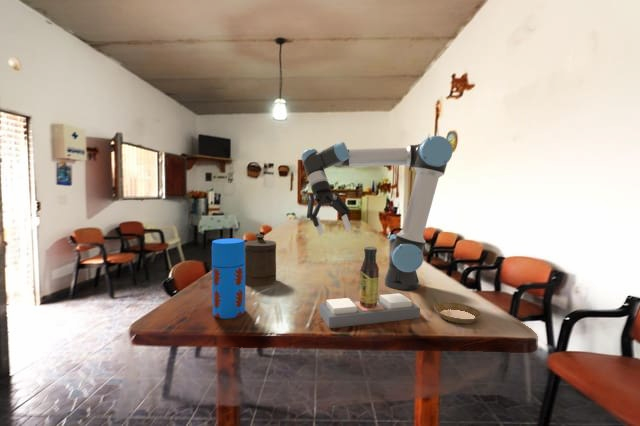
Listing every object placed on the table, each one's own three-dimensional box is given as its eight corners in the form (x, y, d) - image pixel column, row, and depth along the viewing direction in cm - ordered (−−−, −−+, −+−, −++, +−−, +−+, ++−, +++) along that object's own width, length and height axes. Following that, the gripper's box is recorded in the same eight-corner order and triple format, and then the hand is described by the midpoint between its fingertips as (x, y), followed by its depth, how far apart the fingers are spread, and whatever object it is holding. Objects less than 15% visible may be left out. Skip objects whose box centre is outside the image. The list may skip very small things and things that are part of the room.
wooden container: (282, 279, 144) (282, 233, 143) (261, 288, 132) (261, 237, 130) (258, 275, 152) (258, 231, 150) (236, 282, 139) (236, 234, 137)
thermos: (227, 321, 98) (226, 244, 96) (205, 314, 104) (204, 241, 102) (251, 310, 107) (251, 240, 106) (230, 304, 113) (230, 237, 111)
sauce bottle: (357, 301, 107) (358, 245, 106) (374, 301, 108) (376, 245, 106) (361, 308, 101) (363, 249, 99) (380, 308, 101) (381, 249, 100)
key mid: (374, 306, 109) (374, 300, 109) (384, 315, 102) (385, 308, 101) (353, 308, 107) (353, 301, 107) (362, 318, 99) (362, 310, 99)
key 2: (399, 300, 112) (399, 293, 112) (411, 308, 104) (411, 301, 104) (379, 301, 110) (379, 295, 109) (390, 310, 102) (390, 303, 102)
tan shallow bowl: (426, 309, 111) (426, 302, 111) (464, 308, 112) (465, 301, 112) (446, 327, 97) (446, 319, 96) (490, 326, 98) (491, 318, 98)
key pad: (401, 304, 114) (401, 295, 114) (419, 318, 103) (420, 307, 103) (318, 313, 106) (319, 303, 106) (329, 328, 94) (329, 317, 94)
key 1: (348, 304, 106) (348, 297, 106) (356, 313, 99) (357, 306, 99) (326, 306, 104) (326, 299, 104) (333, 316, 97) (333, 308, 96)
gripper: (338, 188, 135) (354, 232, 128) (289, 189, 121) (304, 239, 114) (347, 179, 129) (365, 225, 123) (297, 180, 115) (313, 231, 109)
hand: (335, 232), depth 118 cm, fingers open, 13 cm apart
